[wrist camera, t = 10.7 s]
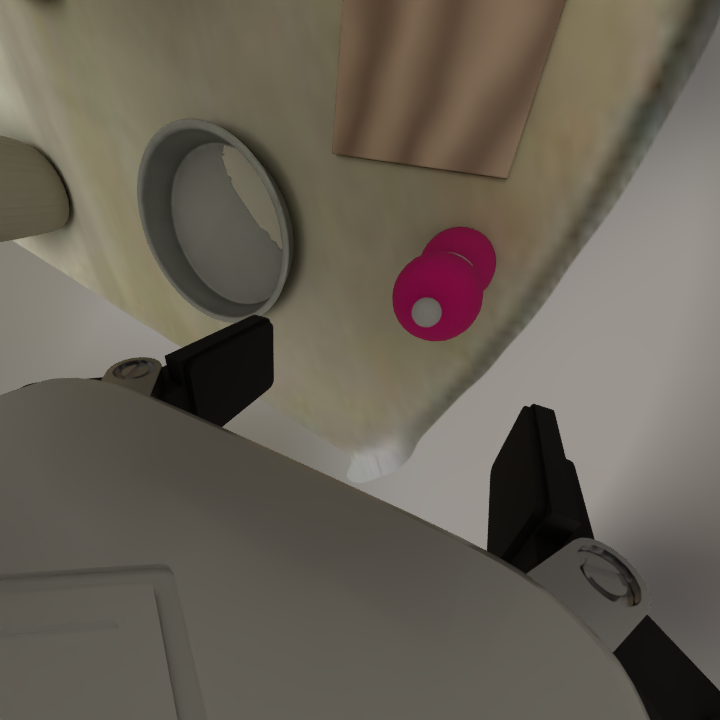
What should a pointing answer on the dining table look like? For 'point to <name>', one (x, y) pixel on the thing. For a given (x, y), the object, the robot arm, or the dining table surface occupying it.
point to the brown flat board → (440, 80)
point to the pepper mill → (444, 285)
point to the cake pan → (210, 223)
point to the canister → (29, 192)
